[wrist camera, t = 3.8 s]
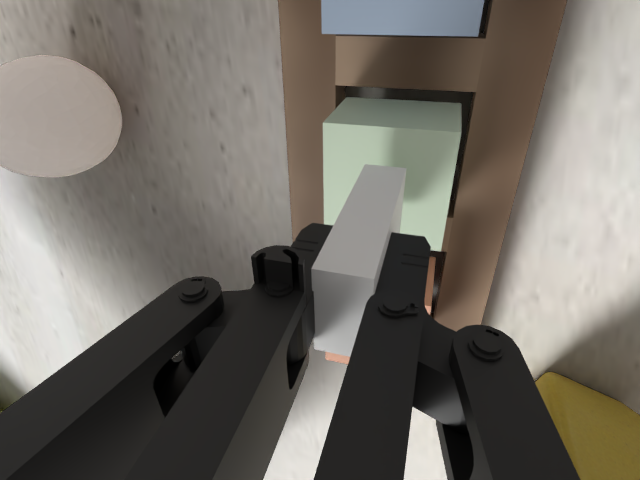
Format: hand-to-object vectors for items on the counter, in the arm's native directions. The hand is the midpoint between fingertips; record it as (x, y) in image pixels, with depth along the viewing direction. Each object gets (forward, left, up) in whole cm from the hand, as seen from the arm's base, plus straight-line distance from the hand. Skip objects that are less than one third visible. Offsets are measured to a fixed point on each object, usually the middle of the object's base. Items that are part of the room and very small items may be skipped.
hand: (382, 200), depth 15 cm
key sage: (0, 0, -5) cm, 5 cm away
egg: (-18, +1, -7) cm, 19 cm away
